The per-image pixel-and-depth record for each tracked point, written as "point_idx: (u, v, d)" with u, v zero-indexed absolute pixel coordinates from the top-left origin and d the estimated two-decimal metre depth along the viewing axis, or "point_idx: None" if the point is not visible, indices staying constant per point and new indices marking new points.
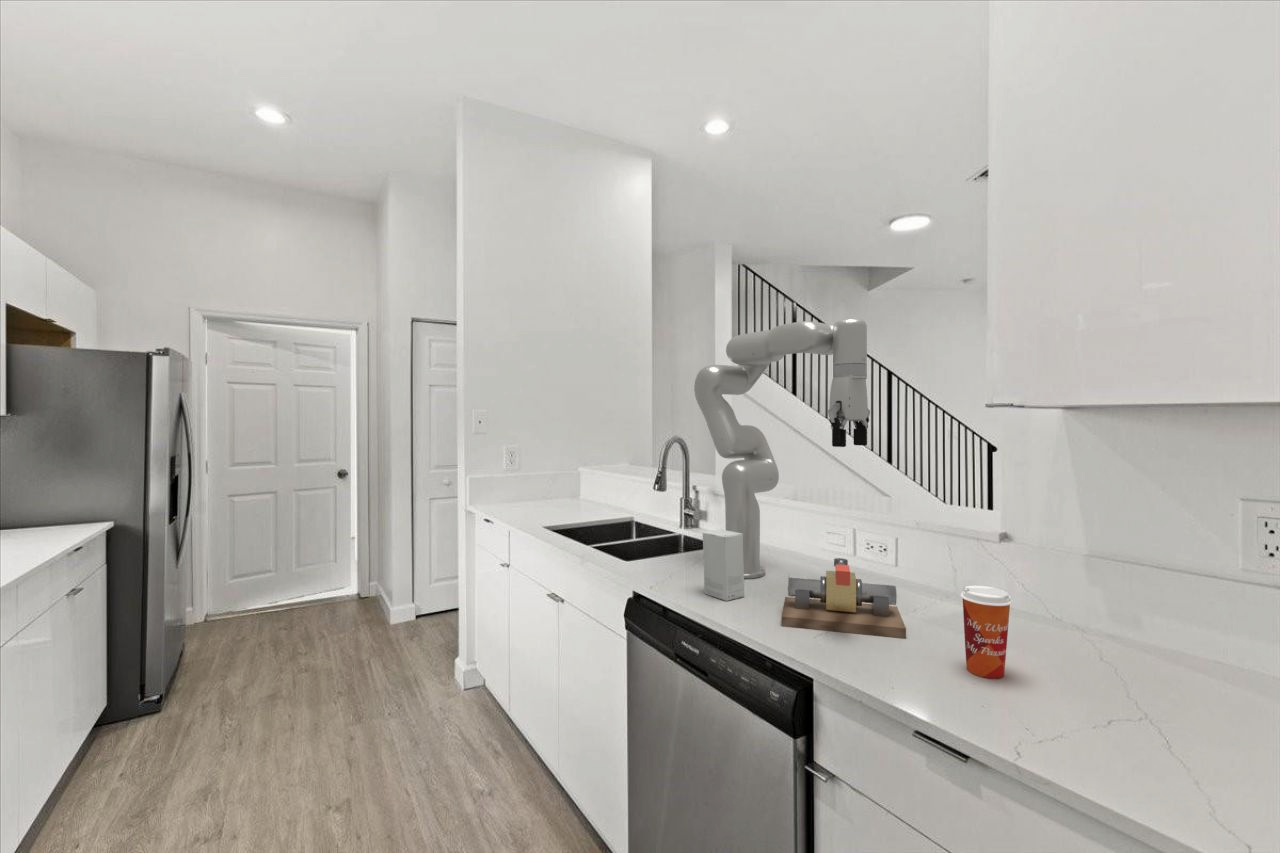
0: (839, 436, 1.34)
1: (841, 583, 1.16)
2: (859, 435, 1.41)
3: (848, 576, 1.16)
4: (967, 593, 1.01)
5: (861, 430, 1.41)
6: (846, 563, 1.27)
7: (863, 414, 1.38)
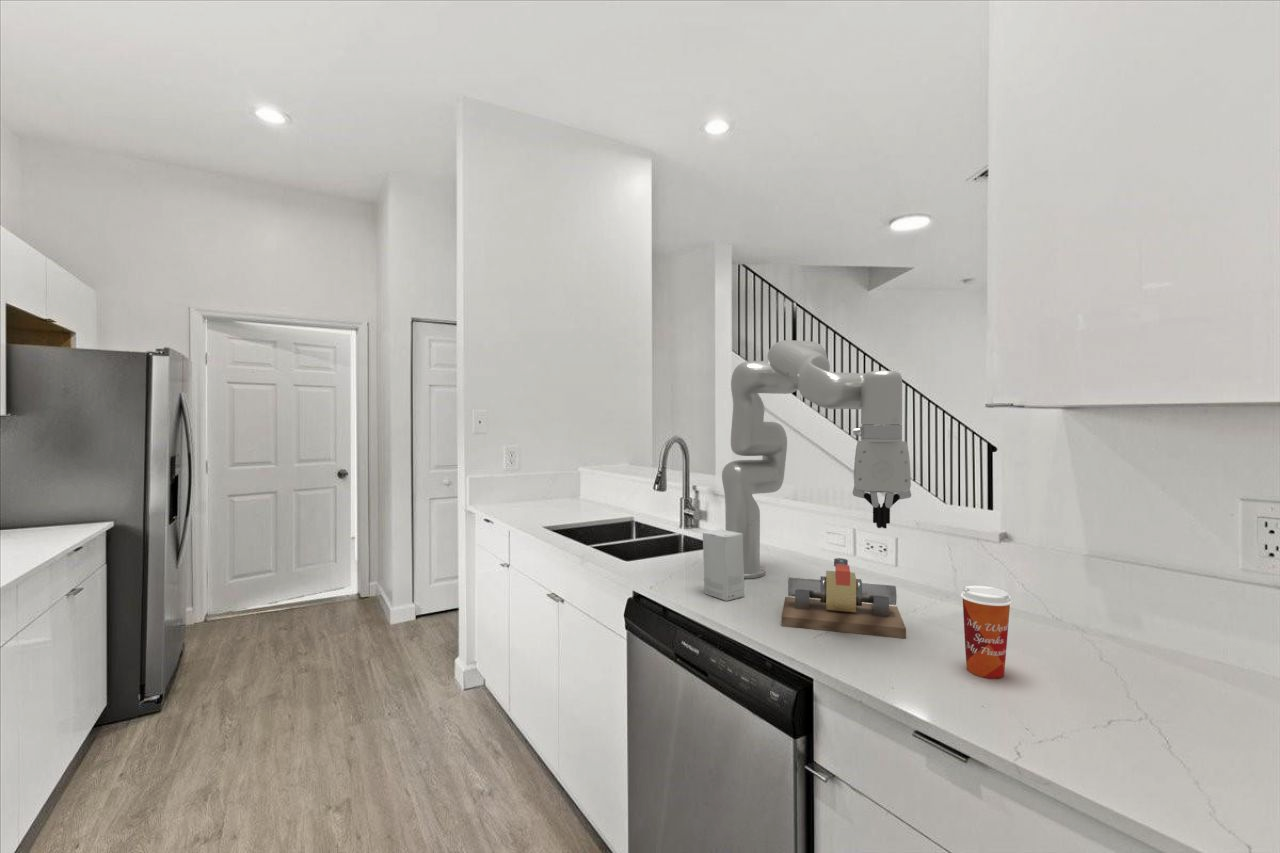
0: None
1: (841, 583, 1.16)
2: None
3: (848, 576, 1.16)
4: (967, 593, 1.01)
5: None
6: (846, 563, 1.27)
7: None
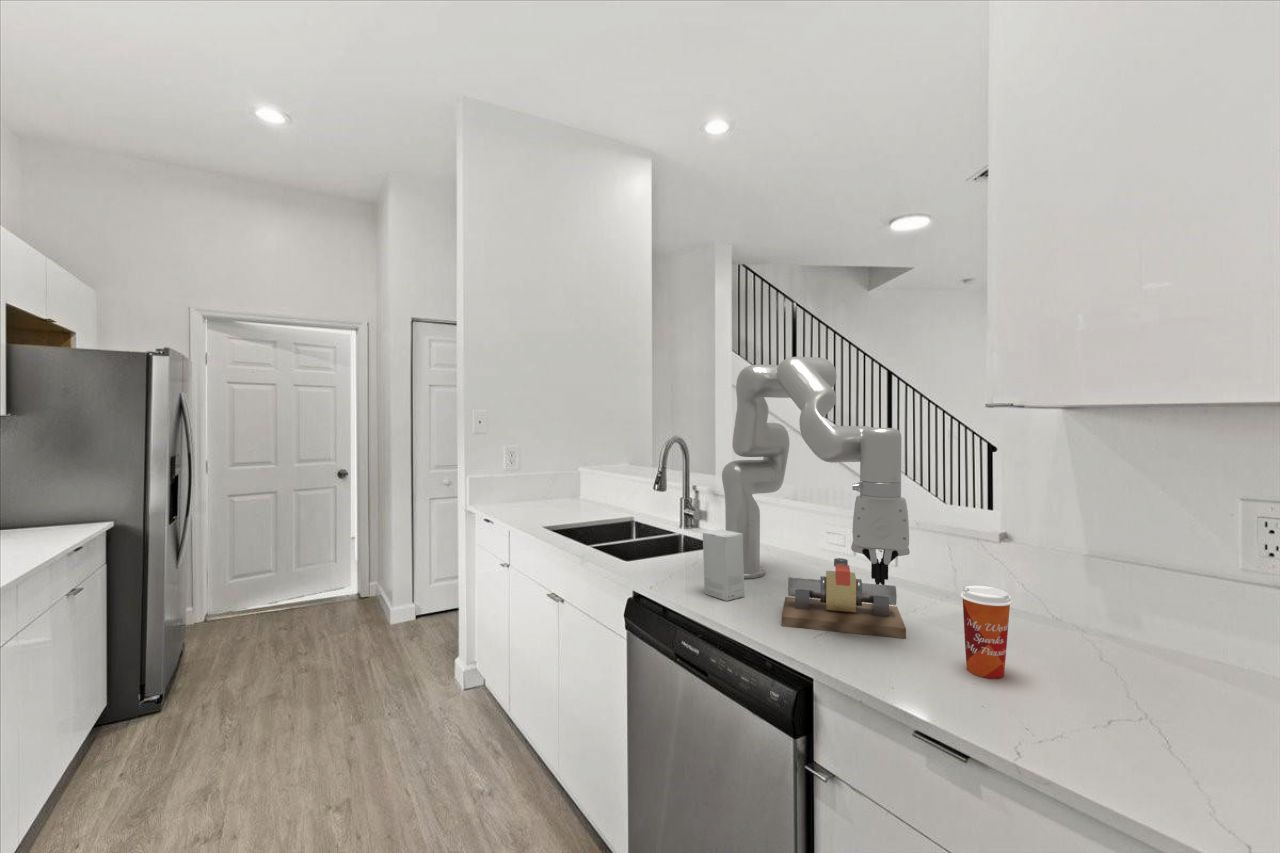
0: None
1: (841, 583, 1.16)
2: None
3: (848, 576, 1.16)
4: (967, 593, 1.01)
5: (879, 564, 1.17)
6: (846, 563, 1.27)
7: None
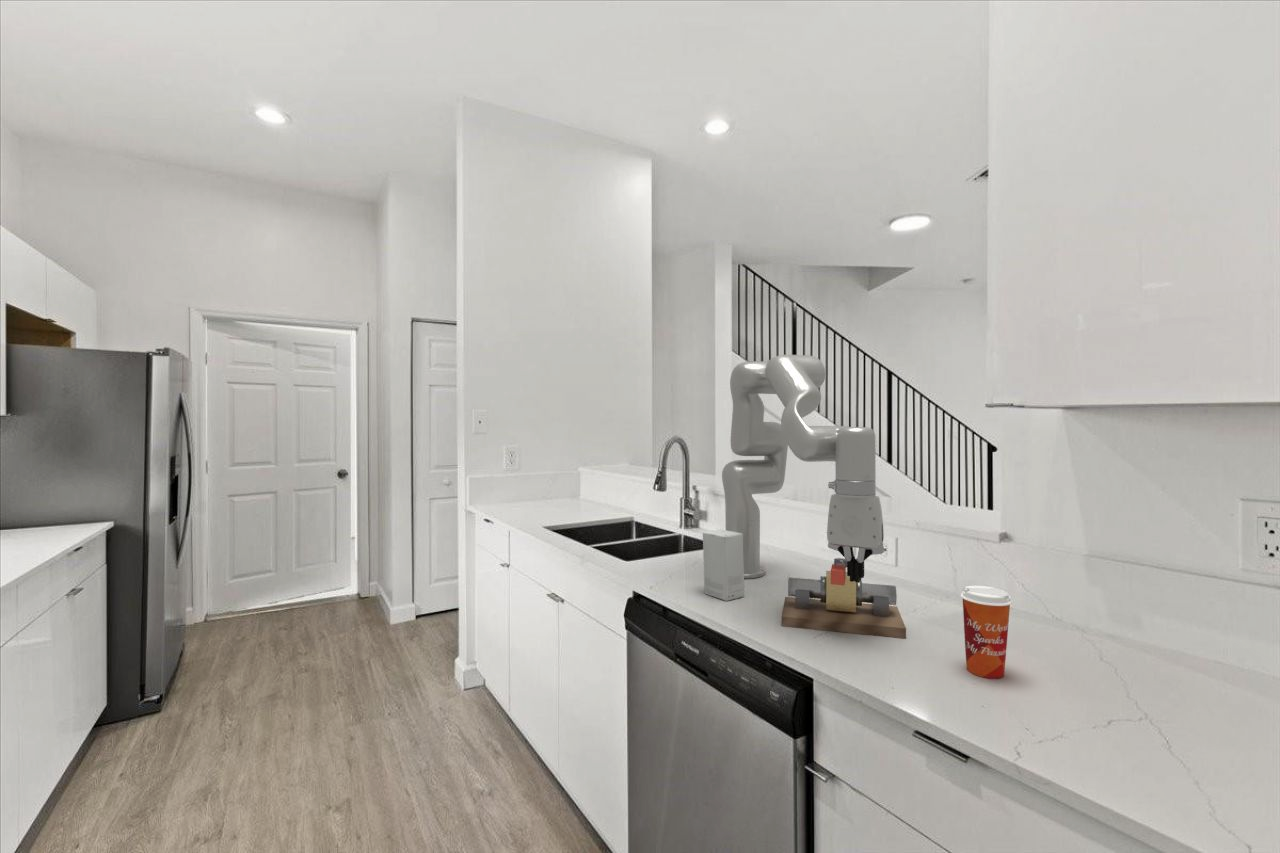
0: (863, 568, 1.18)
1: (835, 582, 1.17)
2: None
3: (842, 576, 1.16)
4: (967, 593, 1.01)
5: (856, 562, 1.18)
6: (846, 563, 1.27)
7: None
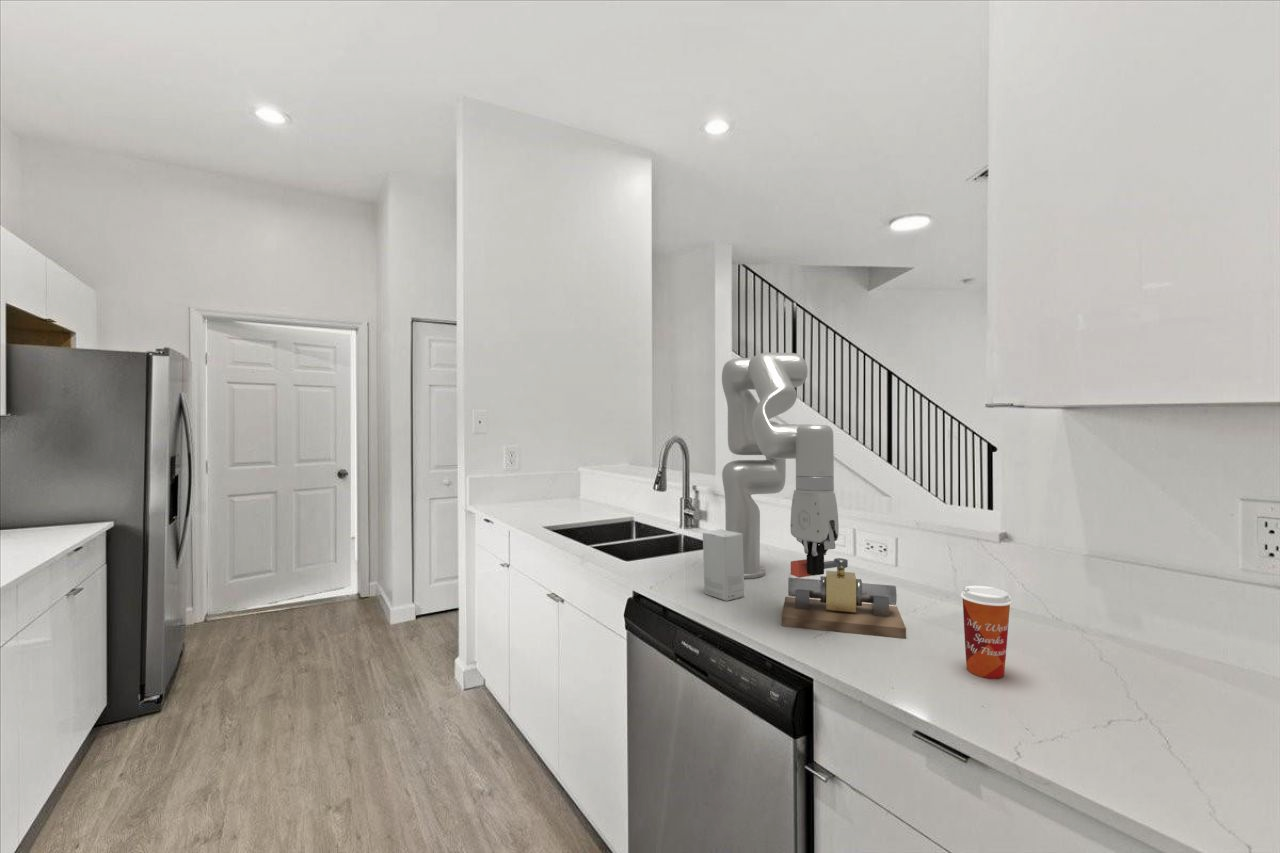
0: (822, 563, 1.20)
1: (793, 574, 1.23)
2: None
3: (797, 568, 1.22)
4: (967, 593, 1.01)
5: None
6: (842, 563, 1.27)
7: None
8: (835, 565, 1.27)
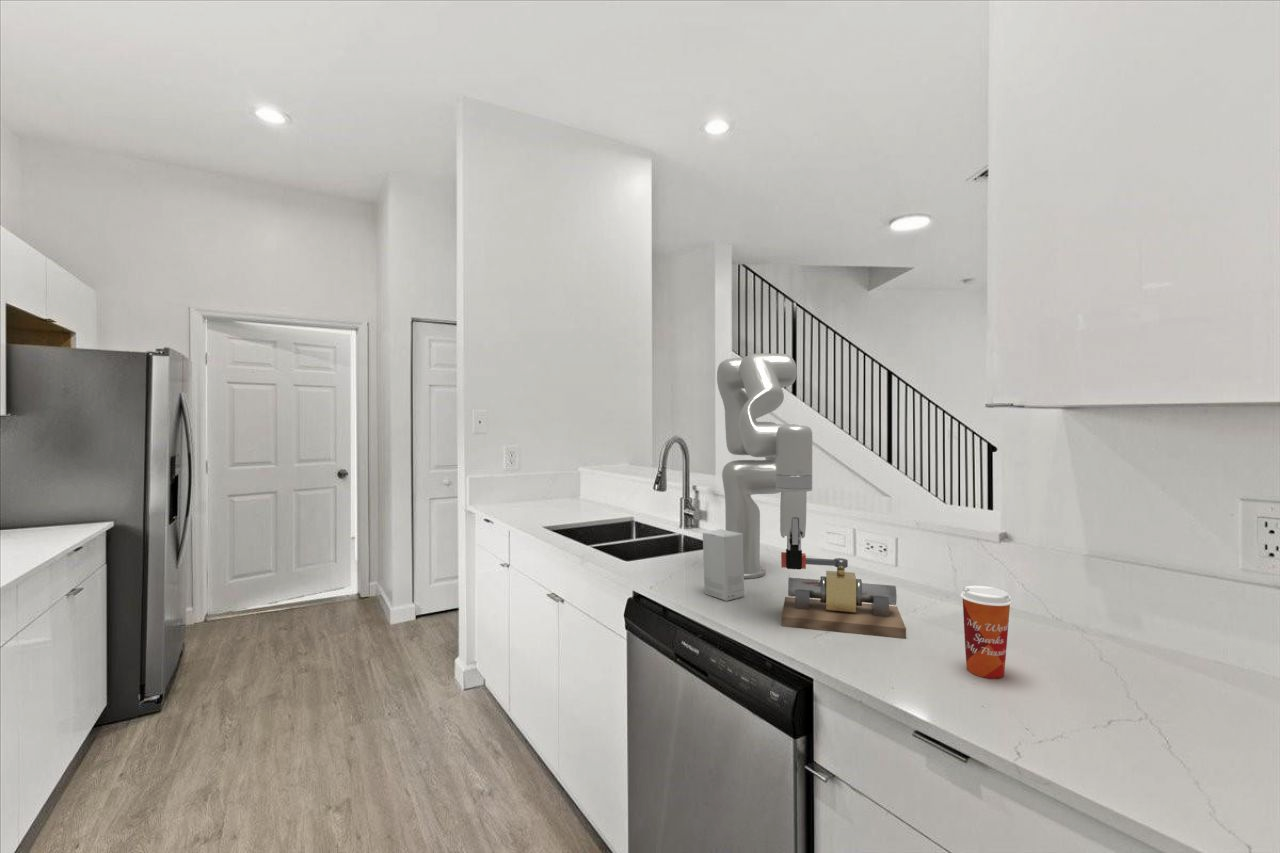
0: (797, 558, 1.25)
1: None
2: None
3: (781, 558, 1.30)
4: (967, 593, 1.01)
5: None
6: (837, 563, 1.27)
7: None
8: (830, 563, 1.28)
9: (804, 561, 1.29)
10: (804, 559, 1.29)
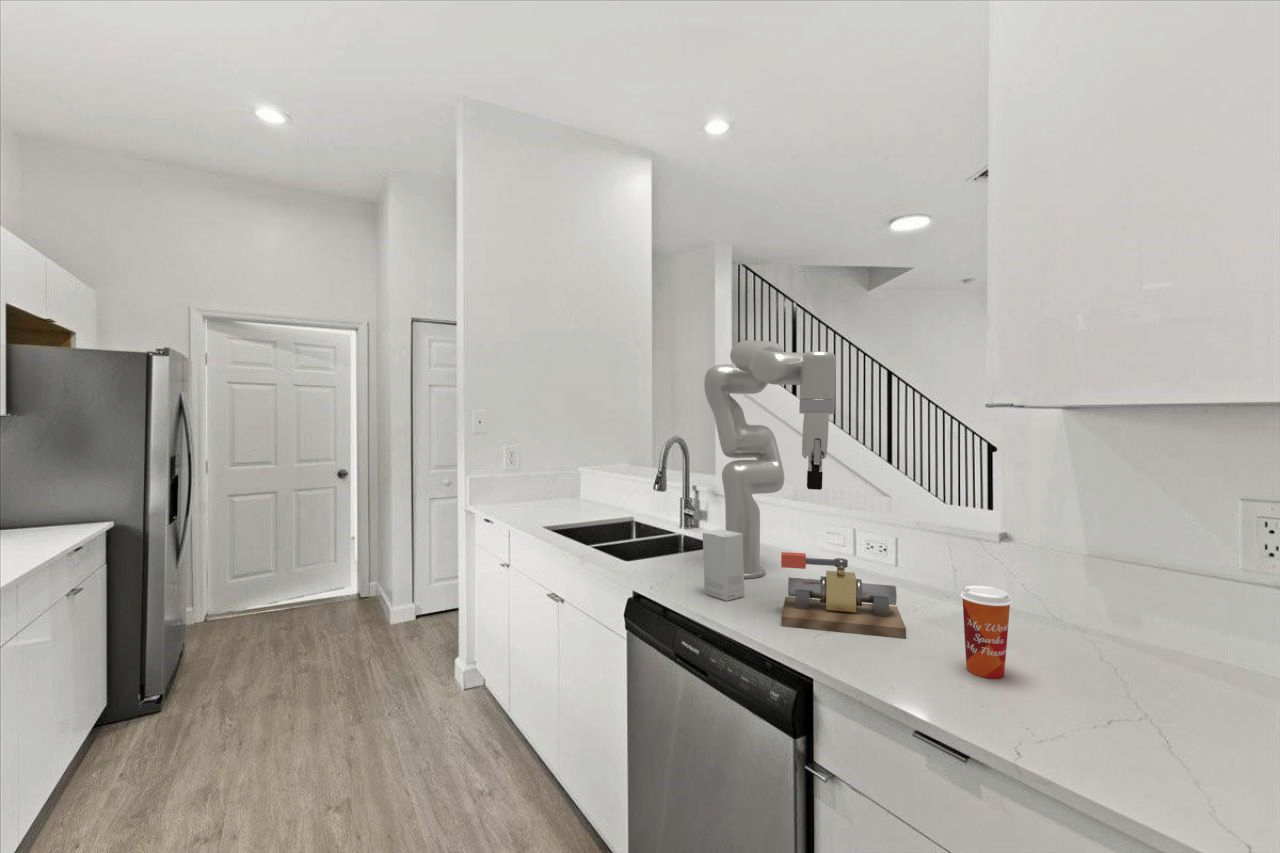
0: (818, 479, 1.31)
1: None
2: None
3: (781, 558, 1.30)
4: (967, 593, 1.01)
5: None
6: (837, 563, 1.27)
7: None
8: (830, 563, 1.28)
9: (804, 561, 1.29)
10: (804, 559, 1.29)
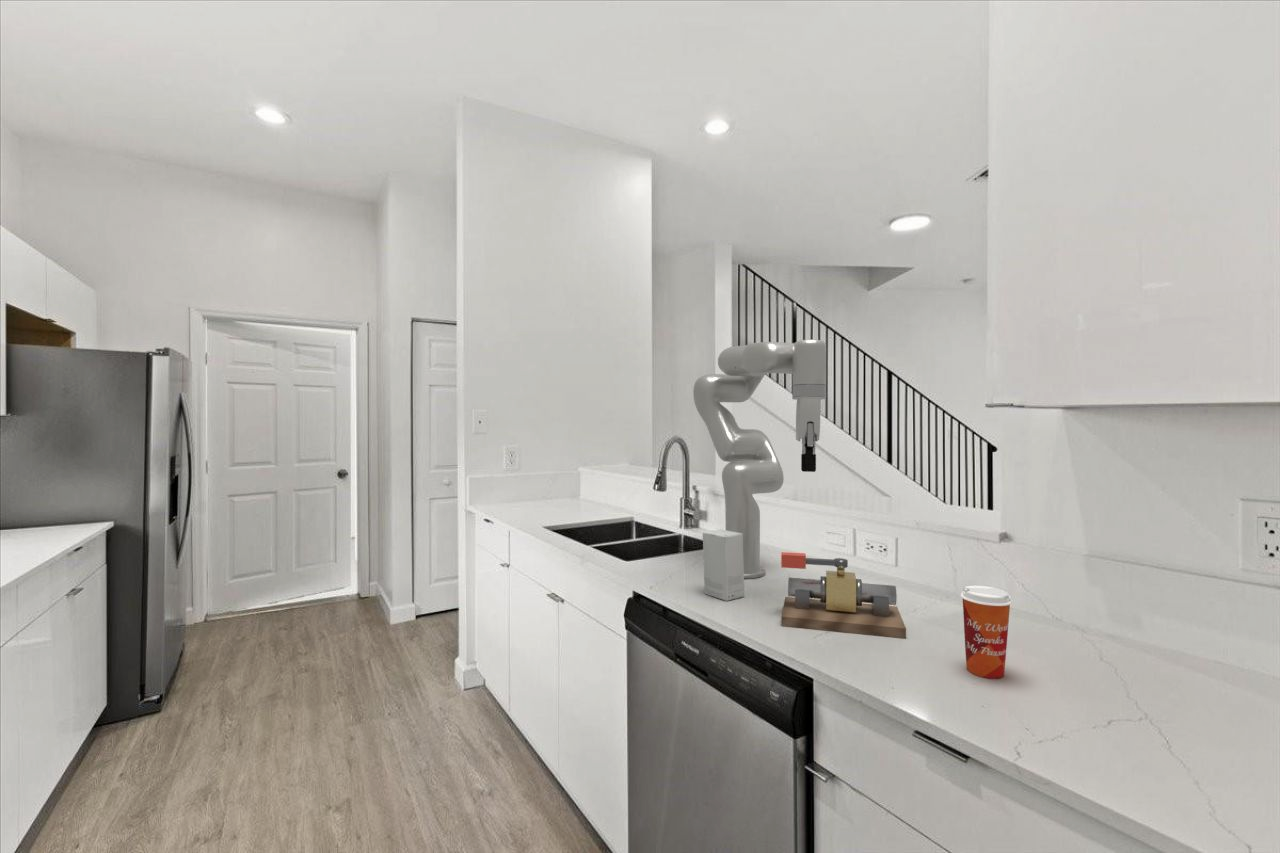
0: (811, 461, 1.37)
1: None
2: None
3: (781, 558, 1.30)
4: (967, 593, 1.01)
5: None
6: (837, 563, 1.27)
7: (817, 433, 1.40)
8: (830, 563, 1.28)
9: (804, 561, 1.29)
10: (804, 559, 1.29)
